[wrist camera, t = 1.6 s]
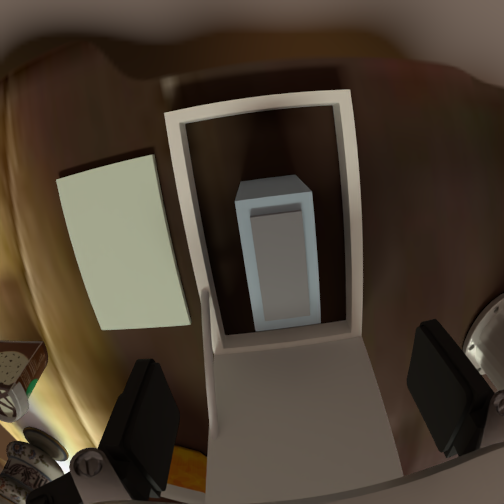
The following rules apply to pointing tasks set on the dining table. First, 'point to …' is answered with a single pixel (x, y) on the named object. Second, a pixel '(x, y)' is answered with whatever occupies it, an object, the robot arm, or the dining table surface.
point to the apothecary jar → (30, 465)
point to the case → (287, 356)
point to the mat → (124, 245)
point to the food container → (19, 375)
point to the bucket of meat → (185, 478)
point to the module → (279, 251)
